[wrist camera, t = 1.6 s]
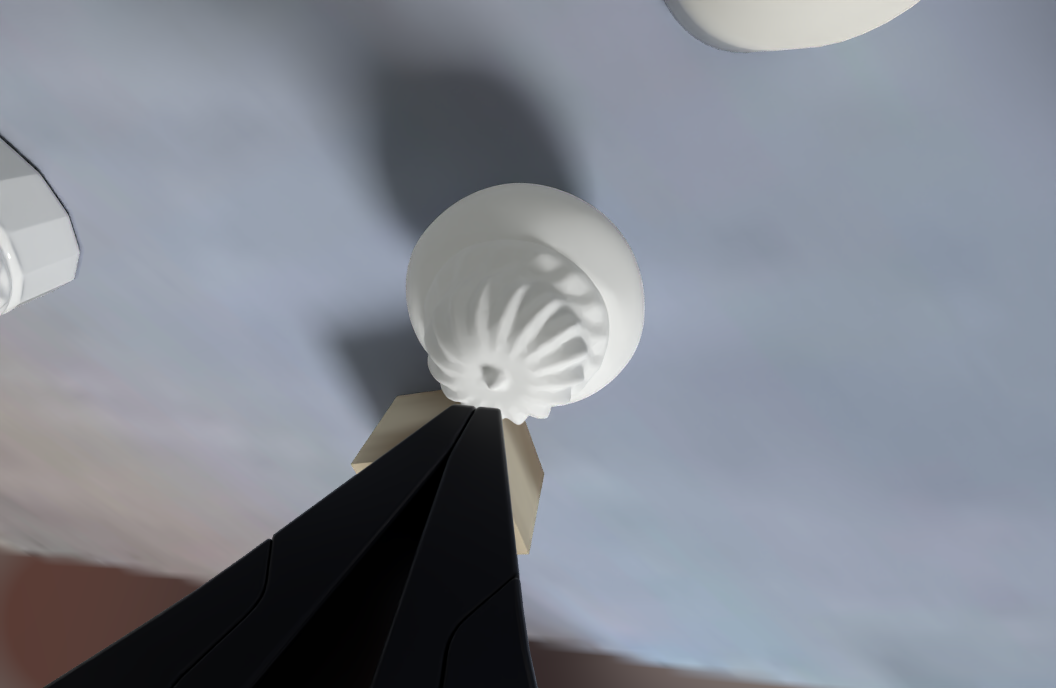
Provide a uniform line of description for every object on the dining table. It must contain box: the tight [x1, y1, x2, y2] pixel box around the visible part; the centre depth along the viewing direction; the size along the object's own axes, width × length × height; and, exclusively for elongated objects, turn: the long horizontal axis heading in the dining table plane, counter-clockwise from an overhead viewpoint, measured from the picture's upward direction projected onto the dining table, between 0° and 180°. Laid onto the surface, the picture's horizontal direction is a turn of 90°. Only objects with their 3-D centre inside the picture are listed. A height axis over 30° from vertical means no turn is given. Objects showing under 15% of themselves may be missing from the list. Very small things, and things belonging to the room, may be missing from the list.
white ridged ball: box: [406, 183, 645, 425], centre depth 12 cm, size 6×6×7 cm
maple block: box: [351, 390, 544, 554], centre depth 18 cm, size 5×5×4 cm
